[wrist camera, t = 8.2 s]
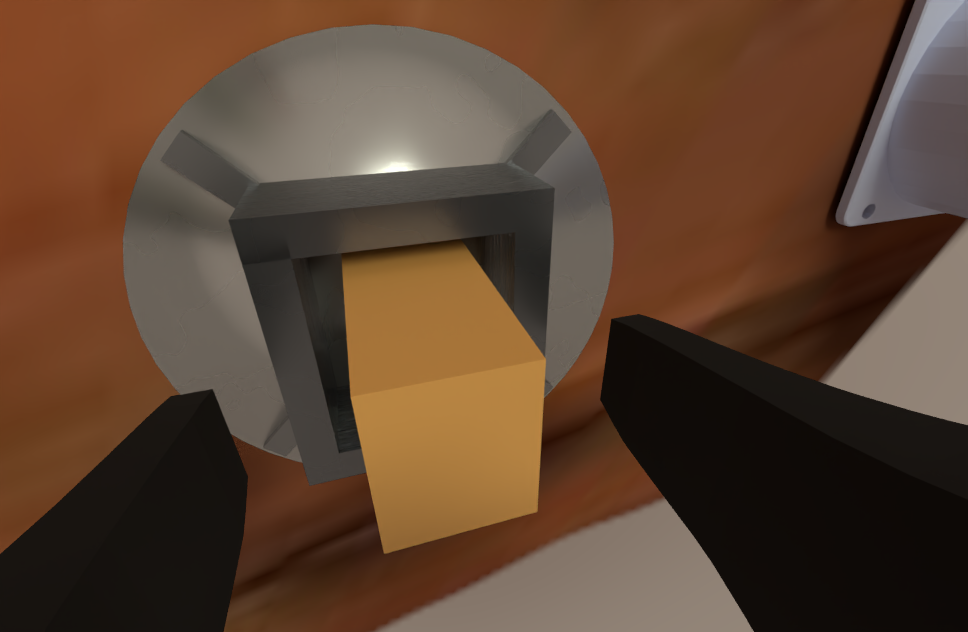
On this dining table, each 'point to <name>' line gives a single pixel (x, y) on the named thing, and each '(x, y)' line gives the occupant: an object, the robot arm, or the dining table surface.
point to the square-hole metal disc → (352, 219)
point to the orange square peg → (440, 392)
